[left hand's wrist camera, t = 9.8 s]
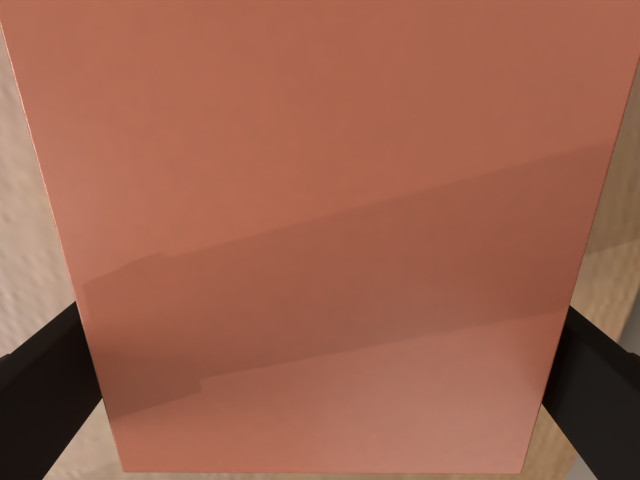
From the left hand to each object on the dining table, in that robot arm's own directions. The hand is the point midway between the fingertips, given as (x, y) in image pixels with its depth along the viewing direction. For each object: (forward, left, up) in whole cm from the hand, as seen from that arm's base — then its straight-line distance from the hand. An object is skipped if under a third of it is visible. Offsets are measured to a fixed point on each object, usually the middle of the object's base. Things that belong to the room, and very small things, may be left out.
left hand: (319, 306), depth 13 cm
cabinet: (+6, +1, -5) cm, 8 cm away
